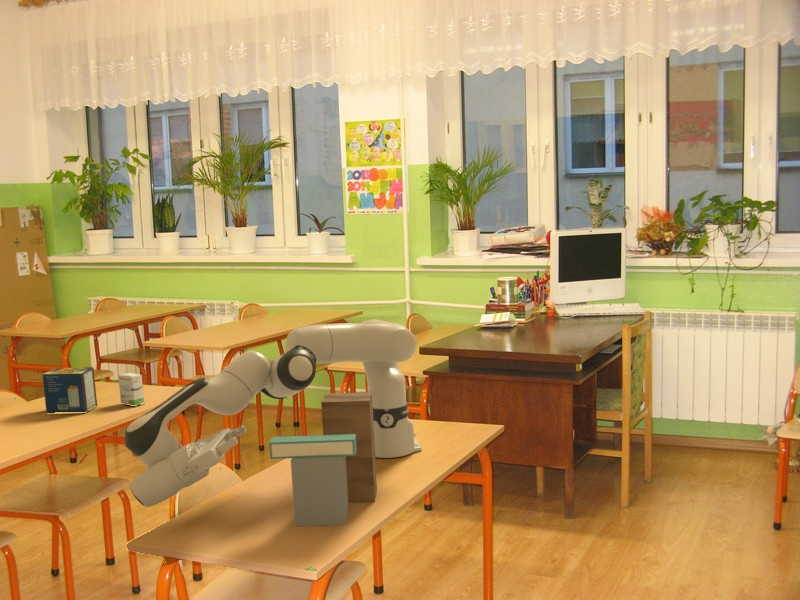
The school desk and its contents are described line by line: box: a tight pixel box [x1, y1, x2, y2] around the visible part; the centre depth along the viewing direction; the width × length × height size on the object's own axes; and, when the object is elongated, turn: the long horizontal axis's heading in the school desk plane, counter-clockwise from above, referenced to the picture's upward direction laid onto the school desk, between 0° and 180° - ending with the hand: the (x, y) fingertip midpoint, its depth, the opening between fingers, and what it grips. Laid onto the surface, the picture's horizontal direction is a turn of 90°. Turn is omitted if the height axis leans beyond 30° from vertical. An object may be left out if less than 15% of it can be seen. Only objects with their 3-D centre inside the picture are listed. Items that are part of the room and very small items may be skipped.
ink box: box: [117, 372, 145, 405], centre depth 337 cm, size 9×5×12 cm, turn 54°
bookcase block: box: [320, 391, 378, 504], centre depth 225 cm, size 9×12×26 cm
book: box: [268, 434, 357, 460], centre depth 210 cm, size 5×20×4 cm, turn 88°
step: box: [290, 456, 350, 527], centre depth 211 cm, size 8×12×16 cm, turn 88°
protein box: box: [42, 366, 98, 413], centre depth 331 cm, size 10×15×16 cm
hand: (240, 434), depth 210 cm, fingers open, 8 cm apart
